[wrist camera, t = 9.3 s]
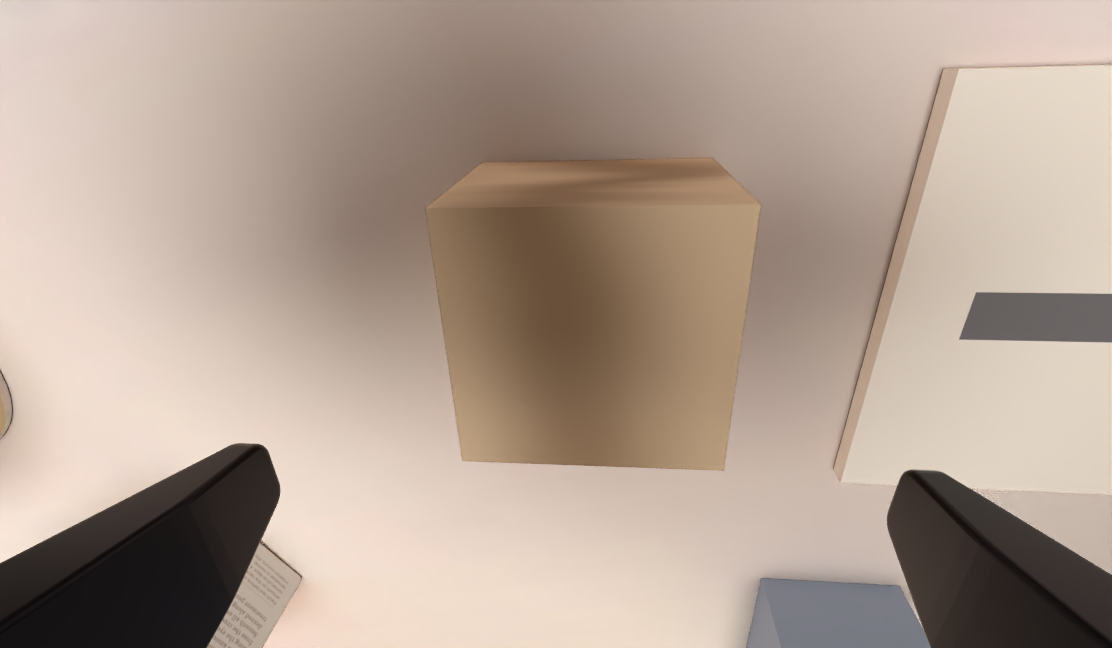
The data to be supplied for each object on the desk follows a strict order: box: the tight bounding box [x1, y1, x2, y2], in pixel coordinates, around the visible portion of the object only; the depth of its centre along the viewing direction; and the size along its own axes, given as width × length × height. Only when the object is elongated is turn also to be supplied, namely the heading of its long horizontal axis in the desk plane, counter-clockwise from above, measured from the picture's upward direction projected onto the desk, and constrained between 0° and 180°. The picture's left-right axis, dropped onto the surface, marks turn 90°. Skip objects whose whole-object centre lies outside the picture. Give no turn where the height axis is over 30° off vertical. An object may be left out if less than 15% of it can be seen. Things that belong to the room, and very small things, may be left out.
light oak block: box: [425, 158, 761, 471], centre depth 13 cm, size 6×6×5 cm
